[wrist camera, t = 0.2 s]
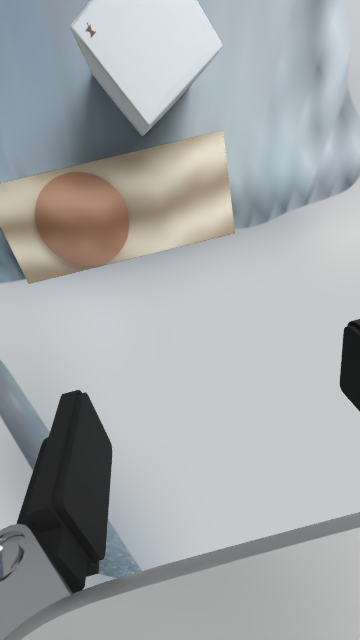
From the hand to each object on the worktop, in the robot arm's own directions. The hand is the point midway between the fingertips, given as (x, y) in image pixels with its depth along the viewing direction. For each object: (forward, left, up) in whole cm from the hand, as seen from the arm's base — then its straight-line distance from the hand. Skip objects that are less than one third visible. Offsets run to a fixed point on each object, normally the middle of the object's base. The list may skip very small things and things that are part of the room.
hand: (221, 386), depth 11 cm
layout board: (-3, -4, -31) cm, 31 cm away
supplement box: (-14, +2, -31) cm, 34 cm away
